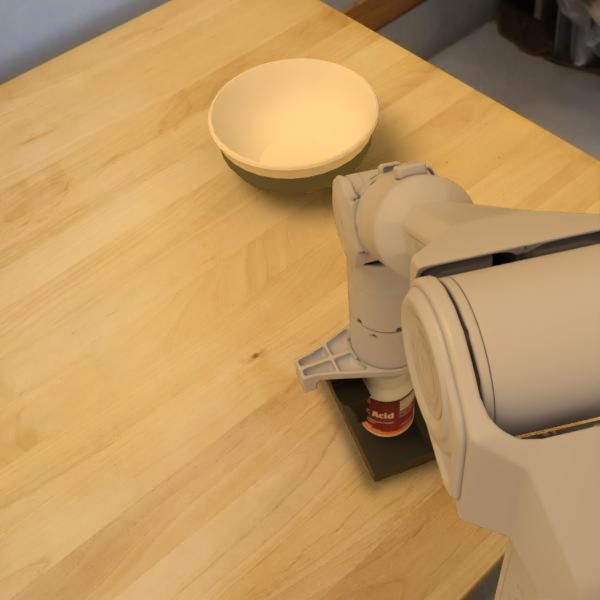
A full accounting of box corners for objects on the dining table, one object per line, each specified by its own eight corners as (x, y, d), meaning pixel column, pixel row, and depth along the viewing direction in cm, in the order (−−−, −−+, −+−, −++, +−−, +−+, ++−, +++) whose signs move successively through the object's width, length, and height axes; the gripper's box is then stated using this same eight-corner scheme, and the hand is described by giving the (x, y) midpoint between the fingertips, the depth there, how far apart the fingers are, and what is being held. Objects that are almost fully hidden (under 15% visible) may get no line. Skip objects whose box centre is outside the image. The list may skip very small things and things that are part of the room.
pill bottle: (348, 422, 73) (344, 367, 67) (377, 382, 76) (376, 325, 69) (396, 448, 71) (396, 394, 65) (424, 407, 74) (428, 350, 67)
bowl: (382, 222, 92) (382, 165, 86) (210, 226, 93) (198, 170, 87) (378, 111, 104) (377, 53, 97) (225, 116, 105) (215, 60, 99)
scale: (496, 447, 74) (499, 429, 72) (379, 492, 72) (379, 476, 70) (429, 336, 82) (431, 317, 80) (322, 374, 80) (321, 356, 78)
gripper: (453, 234, 65) (443, 339, 76) (275, 293, 63) (290, 393, 73) (499, 300, 61) (481, 401, 71) (309, 367, 58) (320, 462, 69)
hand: (387, 402), depth 72 cm, fingers closed on pill bottle, 5 cm apart
